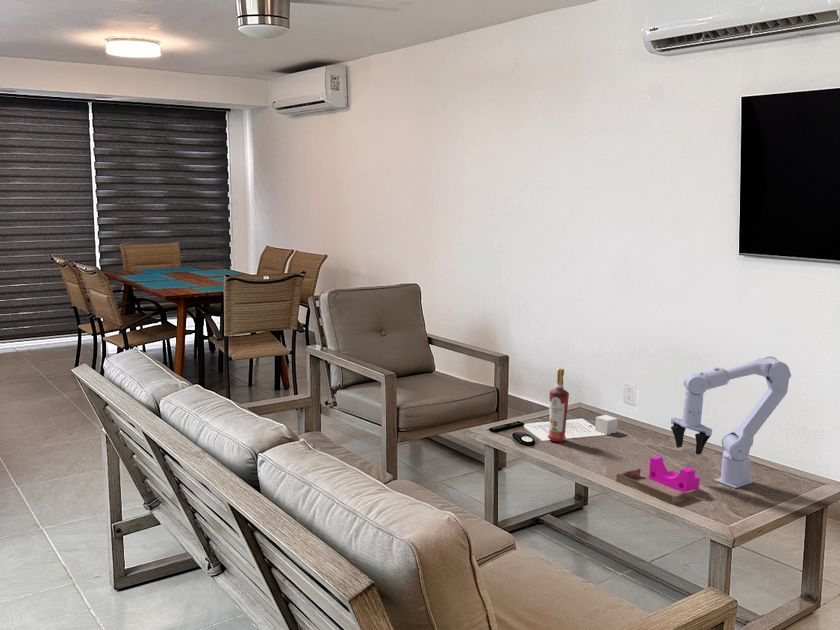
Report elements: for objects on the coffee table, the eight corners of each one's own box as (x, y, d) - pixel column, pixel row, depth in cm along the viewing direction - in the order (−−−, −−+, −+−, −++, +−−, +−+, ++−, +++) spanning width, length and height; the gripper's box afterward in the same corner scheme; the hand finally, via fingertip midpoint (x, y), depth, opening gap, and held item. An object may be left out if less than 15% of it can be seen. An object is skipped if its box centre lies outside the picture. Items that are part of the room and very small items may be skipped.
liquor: (544, 441, 293) (547, 369, 288) (550, 436, 299) (554, 366, 294) (562, 444, 289) (566, 372, 285) (569, 439, 295) (572, 368, 291)
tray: (638, 475, 259) (638, 468, 259) (695, 497, 241) (695, 490, 240) (616, 481, 253) (616, 473, 253) (672, 504, 235) (673, 497, 234)
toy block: (698, 490, 247) (700, 468, 246) (685, 494, 244) (687, 471, 243) (661, 475, 260) (662, 454, 258) (648, 479, 256) (650, 457, 255)
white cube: (616, 433, 306) (617, 418, 305) (606, 435, 302) (607, 420, 301) (604, 429, 310) (605, 414, 309) (594, 431, 307) (595, 416, 306)
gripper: (666, 406, 255) (663, 445, 258) (704, 418, 244) (700, 458, 246) (679, 404, 259) (676, 442, 262) (717, 415, 248) (713, 455, 250)
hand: (688, 450), depth 254 cm, fingers open, 7 cm apart
